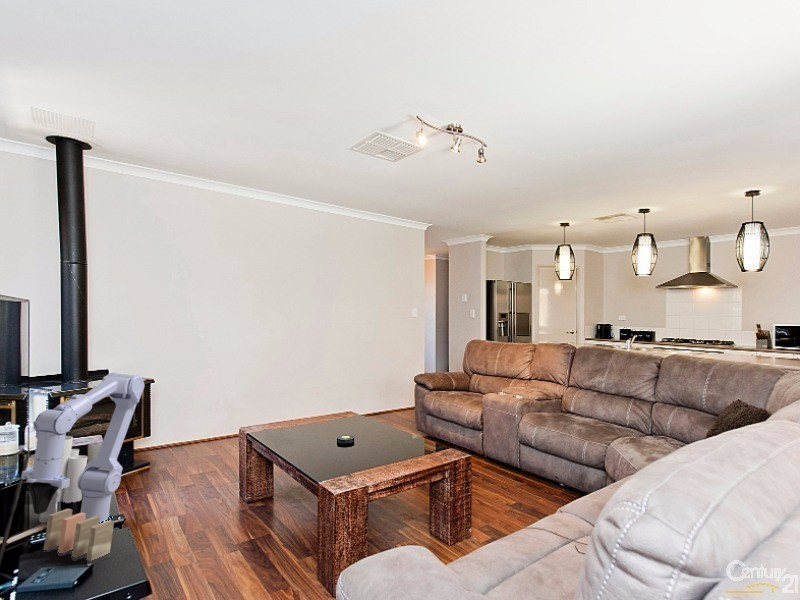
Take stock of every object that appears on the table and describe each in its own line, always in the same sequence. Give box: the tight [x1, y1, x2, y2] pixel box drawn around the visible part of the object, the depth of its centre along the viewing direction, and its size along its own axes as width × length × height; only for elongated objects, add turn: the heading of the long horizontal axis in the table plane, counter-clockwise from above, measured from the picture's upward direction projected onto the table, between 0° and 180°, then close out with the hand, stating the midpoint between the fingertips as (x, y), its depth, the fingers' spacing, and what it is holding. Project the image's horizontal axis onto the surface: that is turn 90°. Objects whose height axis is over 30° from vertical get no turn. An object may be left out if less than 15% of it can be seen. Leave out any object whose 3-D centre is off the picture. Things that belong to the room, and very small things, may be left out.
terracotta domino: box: [57, 511, 86, 553], centre depth 116 cm, size 2×5×9 cm, turn 162°
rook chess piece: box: [38, 491, 59, 524], centre depth 133 cm, size 4×4×8 cm
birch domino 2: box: [71, 516, 100, 558], centre depth 115 cm, size 2×5×9 cm, turn 162°
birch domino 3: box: [86, 519, 115, 561], centre depth 113 cm, size 2×5×9 cm, turn 162°
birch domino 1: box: [43, 508, 73, 550], centre depth 118 cm, size 2×5×9 cm, turn 162°
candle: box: [56, 435, 88, 504], centre depth 148 cm, size 11×7×20 cm, turn 120°
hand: (40, 512), depth 114 cm, fingers closed
